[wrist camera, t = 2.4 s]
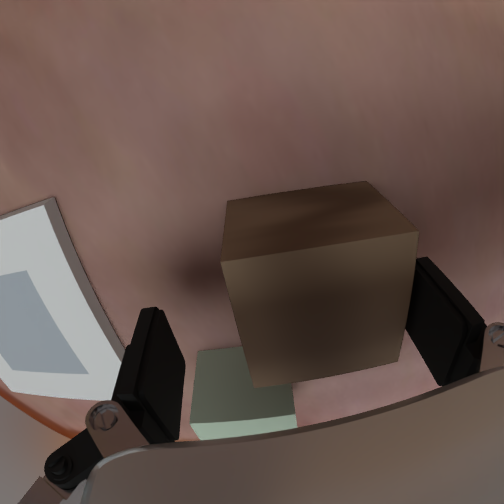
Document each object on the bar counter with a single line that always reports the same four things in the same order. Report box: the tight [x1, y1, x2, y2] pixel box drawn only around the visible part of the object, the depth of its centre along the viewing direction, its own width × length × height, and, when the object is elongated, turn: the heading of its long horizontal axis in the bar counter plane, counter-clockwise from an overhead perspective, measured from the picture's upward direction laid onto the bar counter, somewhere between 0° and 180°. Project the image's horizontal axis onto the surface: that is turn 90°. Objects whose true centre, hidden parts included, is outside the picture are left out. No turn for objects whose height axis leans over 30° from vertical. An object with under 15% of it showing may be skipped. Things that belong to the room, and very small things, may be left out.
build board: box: [0, 197, 125, 401], centre depth 16 cm, size 14×14×1 cm
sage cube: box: [189, 346, 297, 440], centre depth 17 cm, size 5×5×5 cm
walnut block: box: [220, 181, 419, 388], centre depth 13 cm, size 6×6×5 cm
